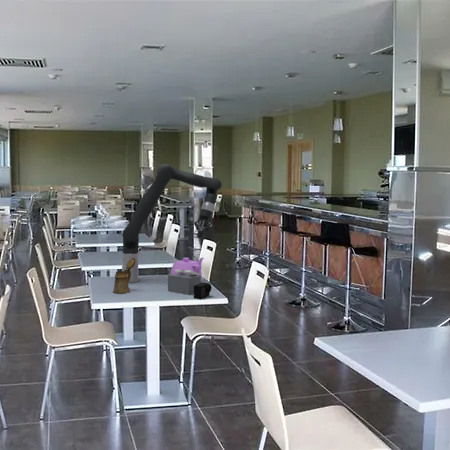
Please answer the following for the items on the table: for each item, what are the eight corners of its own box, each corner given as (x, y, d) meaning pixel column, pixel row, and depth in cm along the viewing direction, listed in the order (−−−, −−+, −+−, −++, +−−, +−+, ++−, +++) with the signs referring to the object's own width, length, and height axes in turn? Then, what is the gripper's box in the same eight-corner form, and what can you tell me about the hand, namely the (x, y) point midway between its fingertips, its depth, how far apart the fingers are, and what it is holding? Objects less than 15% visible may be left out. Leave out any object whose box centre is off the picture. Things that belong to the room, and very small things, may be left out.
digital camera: (202, 299, 306) (202, 286, 305) (193, 298, 308) (193, 285, 307) (211, 295, 315) (211, 283, 314) (202, 294, 317) (202, 282, 317)
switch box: (179, 288, 333) (179, 272, 332) (200, 291, 324) (200, 275, 323) (167, 291, 325) (168, 275, 324) (188, 294, 316) (189, 278, 315)
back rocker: (182, 273, 331) (183, 269, 331) (188, 274, 329) (188, 270, 329) (174, 272, 325) (175, 268, 326) (180, 273, 323) (180, 269, 323)
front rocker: (192, 275, 327) (192, 272, 327) (197, 276, 324) (198, 273, 325) (184, 272, 321) (185, 269, 322) (190, 273, 319) (191, 270, 319)
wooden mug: (139, 290, 324) (139, 258, 322) (119, 294, 314) (119, 261, 312) (129, 288, 330) (129, 256, 328) (109, 291, 320) (109, 259, 319)
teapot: (188, 288, 334) (188, 261, 333) (165, 282, 350) (165, 257, 348) (217, 283, 350) (218, 258, 349) (194, 277, 365) (194, 254, 364)
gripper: (195, 207, 352) (187, 234, 349) (212, 209, 345) (204, 237, 341) (202, 212, 358) (194, 238, 354) (219, 213, 351) (211, 241, 347)
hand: (199, 237), depth 348 cm, fingers closed
